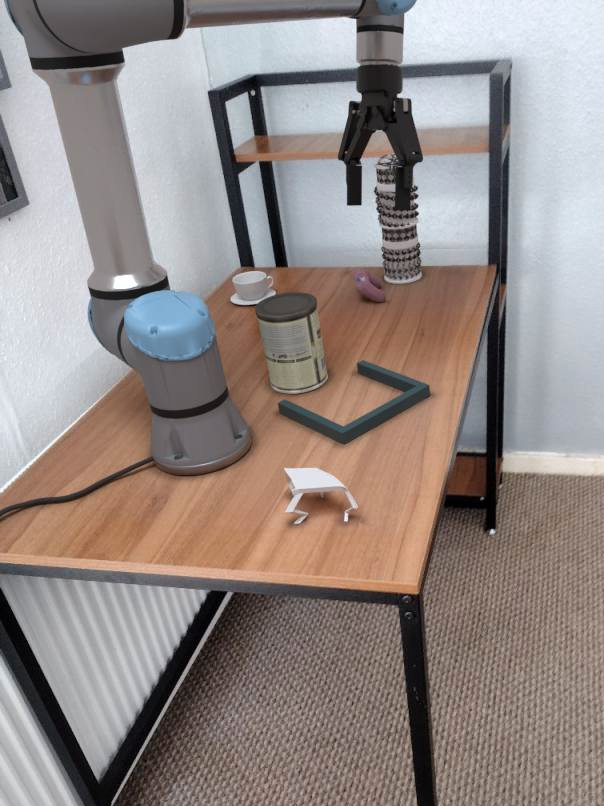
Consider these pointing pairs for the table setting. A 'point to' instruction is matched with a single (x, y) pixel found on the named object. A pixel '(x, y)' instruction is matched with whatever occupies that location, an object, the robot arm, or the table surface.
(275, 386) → the coffee can
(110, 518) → the table surface
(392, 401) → the teal u-shaped frame
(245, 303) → the teacup
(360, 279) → the video game controller
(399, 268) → the decorative candle
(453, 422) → the table surface
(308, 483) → the origami figure
